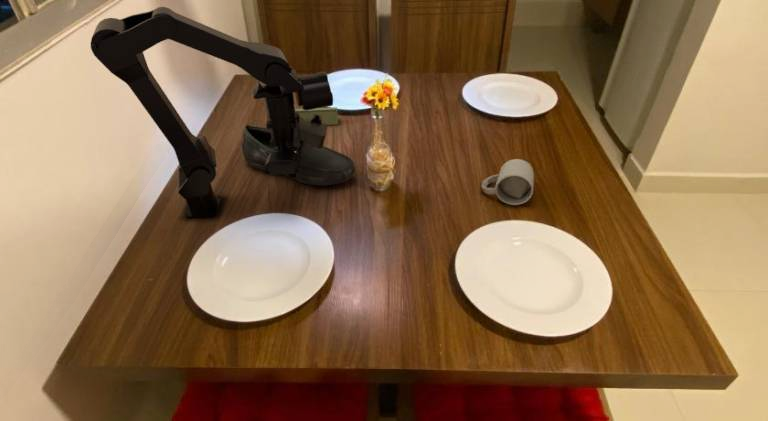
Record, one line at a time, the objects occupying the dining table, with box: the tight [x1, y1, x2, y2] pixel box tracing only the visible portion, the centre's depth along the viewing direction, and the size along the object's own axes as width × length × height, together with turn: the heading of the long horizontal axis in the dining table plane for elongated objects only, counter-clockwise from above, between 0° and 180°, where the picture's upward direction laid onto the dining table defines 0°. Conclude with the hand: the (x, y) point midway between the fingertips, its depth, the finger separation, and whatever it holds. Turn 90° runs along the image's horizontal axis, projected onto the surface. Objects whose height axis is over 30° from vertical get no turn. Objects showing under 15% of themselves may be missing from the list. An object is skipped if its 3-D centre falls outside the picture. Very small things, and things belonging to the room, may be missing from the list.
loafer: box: [240, 124, 356, 187], centre depth 102 cm, size 10×29×10 cm, turn 72°
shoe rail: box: [295, 107, 339, 126], centre depth 121 cm, size 2×18×5 cm, turn 93°
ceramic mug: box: [481, 158, 535, 206], centre depth 95 cm, size 11×8×8 cm
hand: (293, 177), depth 98 cm, fingers closed
